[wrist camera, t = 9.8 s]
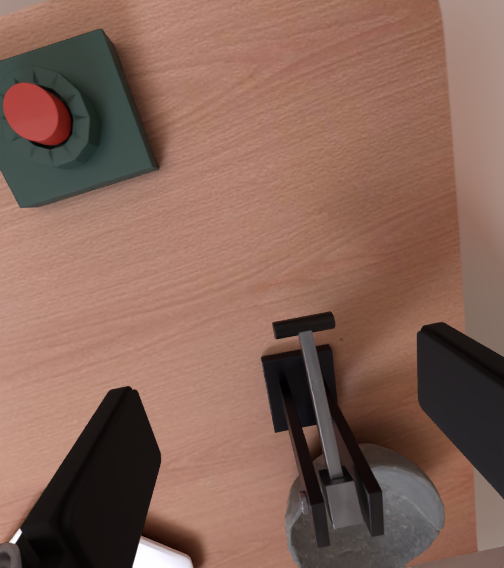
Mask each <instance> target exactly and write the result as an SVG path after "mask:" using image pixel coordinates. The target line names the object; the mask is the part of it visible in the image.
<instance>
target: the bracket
mask: <svg viewBox="0 0 504 568" xmlns="http://www.w3.org/2000/svg"><path fill="white" fill-rule="evenodd" d="M316 351H317V356H318V360H319V365H320V369H321V374H322V378H323V383H324V388H325V392H326V397H327V401H328V406H329V410H330V415H331V420H332V424H333V429H334V433H335V438H336V442H337V447H338V452H339V456H340V461H341V465H342V466H345V467H346V469H347V470H348V472H349V473H350V475H351V476H352V478H353V480H354V481H355V485H356V490H357V494H358V499H359V503H360V507H361V512H362V516H363V518H364V521H365V523H366V525H367V528H368V530H369V533H370V535H371V537H376V536H381V535H384V515H383V494H382V489H381V488H380V485H379V483H378V481H377V479H376V478H375V476H374V474H373V472H372V470H371V468H370V466H369V464H368V462H367V460H366V458H365V457H364V455H363V453H362V451H361V449H360V447H359V445H358V443H357V441H356V439H355V437H354V435H353V433H352V431H351V429H350V427H349V426H348V424H347V422H346V420H345V418H344V416H343V414H342V412H341V410H340V408H339V406H338V404H337V394H336V384H335V374H334V364H333V354H332V349H331V347H330V346H329V344H327V345H322V346H317V347H316ZM261 361H262V366H263V372H264V377H265V382H266V388H267V393H268V398H269V404H270V409H271V414H272V420H273V425H274V430H275V433H276V432H282V431H287V430H288V431H289V435H290V439H291V443H292V447H293V451H294V455H295V459H296V463H297V468H298V472H299V476H300V480H301V484H302V488H303V491H299V497H300V502H301V507H302V511H303V514H309V517H310V521H311V525H312V529H313V533H314V537H315V541H316V546H317V548H322V547H327V546H330V537H329V530H328V522H327V515H326V507H325V501H324V498H323V495H322V492H321V488H320V485H319V482H318V479H317V475H316V472H315V469H314V465H313V462H312V459H311V456H310V452H309V449H308V446H307V443H306V439H305V436H304V433H303V430H302V427H307V426H312V425H317V424H316V419H315V414H314V409H313V405H312V400H311V395H310V390H309V386H308V381H307V376H306V371H305V367H304V362H303V357H302V352H301V350H296V351H290V352H285V353H280V354H275V355H269V356H264V357H261Z"/></svg>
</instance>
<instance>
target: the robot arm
mask: <svg viewBox="0 0 504 568" xmlns="http://www.w3.org/2000/svg"><path fill="white" fill-rule="evenodd" d="M417 376H418V401H419V404H420V406H421V408H422V409H423V411H424V412H425V413H426V414H427V415H428V416H429V417H430V418H431V419H432V421H433V422H434V423H435V424H436V425H437V426H438V427H439V428H440V429H441V430H442V432H443V433H444V434H445V435H446V436H447V437H448V438H449V439H450V440H451V441H452V443H453V444H454V445H455V446H456V447H457V448H458V449H459V450H460V451H461V452H462V454H463V455H464V456H465V457H466V458H467V459H468V460H469V461H470V462H471V463H472V465H473V466H474V467H475V468H476V469H477V470H478V471H479V472H480V473H481V474H482V475H483V476H484V478H485V479H486V480H487V481H488V482H489V483H490V484H491V485H492V487H493V488H494V489H495V490H496V491H497V492H498V493H499V494H500V495H501V496H502V498H503V499H504V357H503V356H501V355H499V354H498V353H496V352H494V351H492V350H491V349H489V348H487V347H485V346H484V345H482V344H480V343H478V342H477V341H475V340H473V339H472V338H469V337H468V336H466V335H465V334H463V333H461V332H459V331H458V330H456V329H454V328H452V327H451V326H449V325H447V324H446V323H443V322H439V323H434V324H429V325H424V326H423V327H422V328H421V331H419V332H418V333H417ZM160 464H161V453H160V450H159V447H158V444H157V442H156V439H155V436H154V434H153V431H152V428H151V426H150V423H149V420H148V418H147V415H146V412H145V409H144V407H143V404H142V401H141V399H140V396H139V393H138V391H137V390H135V389H134V390H132V388H131V387H129V386H126V387H121V388H117V389H112V390H110V391H109V392H108V393H107V395H106V396H105V398H104V399H103V401H102V402H101V404H100V405H99V407H98V409H97V410H96V412H95V413H94V415H93V416H92V418H91V419H90V421H89V422H88V424H87V425H86V427H85V429H84V430H83V432H82V433H81V435H80V436H79V438H78V439H77V441H76V442H75V444H74V445H73V447H72V449H71V450H70V452H69V453H68V455H67V456H66V458H65V459H64V461H63V462H62V464H61V465H60V467H59V469H58V470H57V472H56V473H55V475H54V476H53V478H52V479H51V481H50V482H49V484H48V486H47V487H46V489H45V490H44V492H43V493H42V495H41V496H40V498H39V499H38V501H37V502H36V504H35V506H34V507H33V509H32V510H31V512H30V513H29V515H28V516H27V518H26V519H25V521H24V522H23V524H22V526H21V527H20V530H21V531H22V533H21V535H20V536H19V538H18V540H17V541H16V543H15V544H13V543H11V542H9V543H1V544H0V568H132V567H133V564H134V560H135V556H136V553H137V549H138V545H139V542H140V538H141V534H142V531H143V527H144V523H145V520H146V516H147V512H148V509H149V505H150V501H151V498H152V494H153V490H154V487H155V483H156V479H157V476H158V472H159V468H160ZM402 568H504V547H499V548H494V549H489V550H484V551H479V552H474V553H470V554H465V555H460V556H455V557H450V558H445V559H441V560H436V561H431V562H426V563H421V564H416V565H412V566H407V567H402Z"/></svg>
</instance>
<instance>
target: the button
mask: <svg viewBox="0 0 504 568" xmlns="http://www.w3.org/2000/svg"><path fill="white" fill-rule="evenodd" d="M3 109H4V114H5V117H6V119H7V121H8V123H9V125H10V126H11V127H12V128H13V130H14V131H15V132H16V133H18V134H19V135H20V136H22V137H24V138H26V139H28V140H31V141H35V142H38V143H41V144H45V145H58V144H61V143H62V142H64V141H65V140H66V139H67V138H68V136H69V134H70V132H71V127H72V122H71V116H70V113H69V111H68V109H67V107H66V106H65V104H64V103H63V102H62V101H61V100H60V99H59V98H57V97H56V96H54V95H53V94H51V93H49V92H48V91H46V90H44V89H43V88H41V87H39V86H37V85H35V84H32V83H18V84H15V85H13V86H12V87H11V88H10V89H9V90H8V91H7V92H6V94H5V97H4V101H3Z"/></svg>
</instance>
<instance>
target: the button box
mask: <svg viewBox="0 0 504 568" xmlns="http://www.w3.org/2000/svg"><path fill="white" fill-rule="evenodd" d="M18 83H32V84H35V85H37V86H39V87H41V88H43V89H44V90H46V91H48V92H49V93H51V94H53V95H54V96H56V97H57V98H59V99H60V100H61V101H62V102H63V103H64V104H65V106H66V107H67V109H68V111H69V113H70V116H71V122H72V127H71V132H70V134H69V136H68V138H67V139H66V140H65V141H64V142H62V143H61V144H58V145H45V144H41V143H38V142H35V141H31V140H28V139H26V138H24V137H22V136H20V135H19V134H18V133H16V132H15V131H14V130H13V128H12V127H11V126H10V125H9V123H8V121H7V119H6V117H5V114H4V109H3V101H4V97H5V94H6V92H7V91H8V90H9V89H10V88H11V87H12V86H13V85H15V84H18ZM0 170H1V172H2V174H3V176H4V178H5V180H6V182H7V183H8V185H9V187H10V189H11V191H12V193H13V195H14V197H15V199H16V201H17V202H18V204H19V206H20V208H31V207H40V206H43V205H46V204H50V203H53V202H56V201H59V200H62V199H66V198H69V197H72V196H75V195H79V194H82V193H85V192H88V191H92V190H95V189H98V188H101V187H104V186H108V185H111V184H114V183H117V182H121V181H124V180H127V179H130V178H133V177H137V176H140V175H143V174H146V173H150V172H153V171H156V170H159V167H158V165H157V162H156V159H155V156H154V154H153V151H152V148H151V146H150V143H149V140H148V137H147V135H146V132H145V129H144V126H143V124H142V121H141V118H140V115H139V113H138V110H137V107H136V104H135V102H134V99H133V96H132V93H131V91H130V88H129V85H128V82H127V80H126V77H125V74H124V72H123V69H122V66H121V63H120V61H119V58H118V55H117V52H116V50H115V47H114V44H113V43H112V41H111V40H110V39H109V38H108V36H107V35H106V34H105V32H104V31H103V30H102V29H98V30H95V31H91V32H88V33H85V34H82V35H79V36H76V37H73V38H70V39H67V40H63V41H60V42H57V43H54V44H51V45H48V46H45V47H42V48H39V49H35V50H32V51H29V52H26V53H23V54H20V55H17V56H14V57H11V58H7V59H4V60H1V61H0Z"/></svg>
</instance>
